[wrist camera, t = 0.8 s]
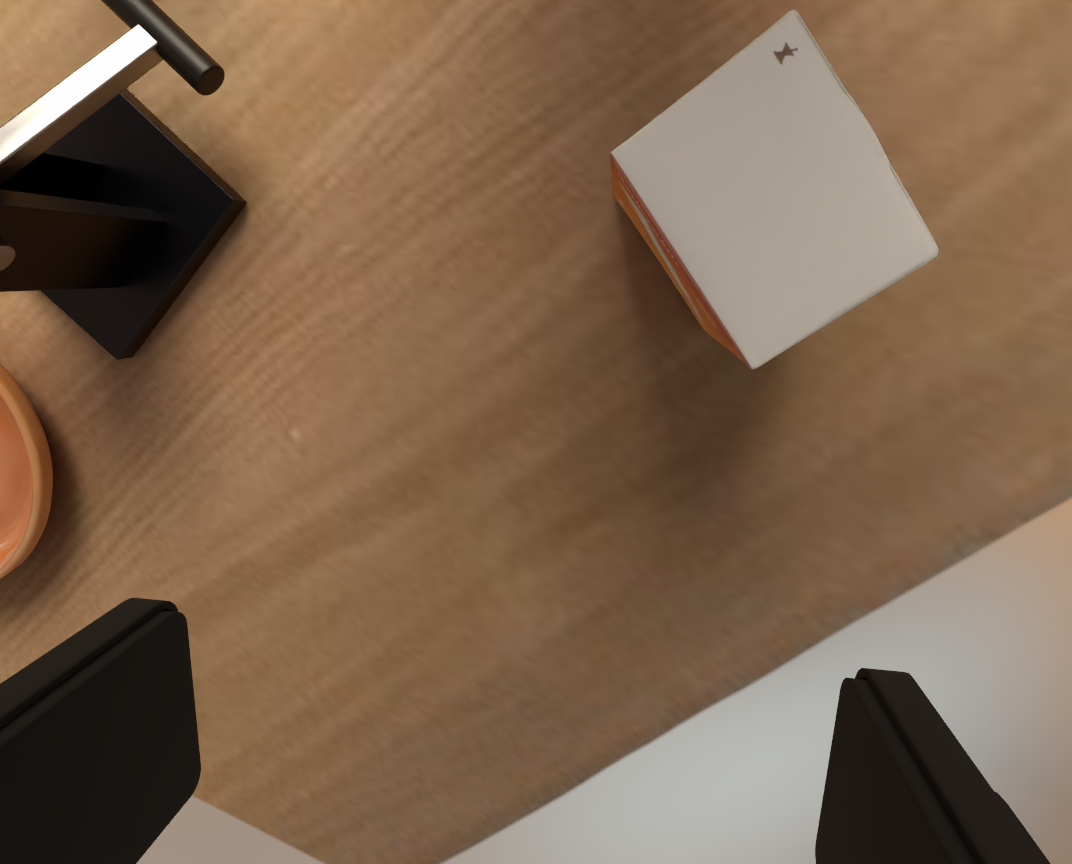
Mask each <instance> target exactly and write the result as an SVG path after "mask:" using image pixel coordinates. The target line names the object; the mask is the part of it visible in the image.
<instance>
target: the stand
mask: <svg viewBox="0 0 1072 864" xmlns="http://www.w3.org/2000/svg"><path fill="white" fill-rule="evenodd" d="M246 203H247V202H246V201H245V200H244V199H243V198H242V197H241V196H240V195H239V194H238V193H237V192H236V191H234V190H233V189H232V188H231V187H230V186H229V185H228V184H227V183H226V182H225V181H224V180H223V179H222V178H221V177H220V176H219V175H217V174H216V173H215V172H214V171H213V170H212V169H211V168H210V167H209V166H208V165H207V164H206V163H205V162H204V161H203V160H202V159H200V158H199V157H198V156H197V155H196V154H195V153H194V152H193V151H192V150H191V149H190V148H189V147H188V146H187V145H186V144H185V143H183V142H182V141H181V140H180V139H179V138H178V137H177V136H176V135H175V134H174V133H173V132H172V131H171V130H170V129H169V128H168V127H166V126H165V125H164V124H163V123H162V122H161V121H160V120H159V119H158V118H157V117H156V116H155V115H154V114H153V113H152V112H151V111H149V110H148V109H147V108H146V107H145V106H144V105H143V104H142V103H141V102H140V101H139V100H138V99H137V98H136V97H135V96H134V95H132V94H131V93H130V92H129V91H128V90H127V89H125V90H123V91H122V92H121V93H119V94H118V95H117V96H116V97H114V98H113V99H112V100H110V101H109V102H108V103H106V104H105V105H104V106H103V107H101V108H100V109H99V110H97V111H96V112H95V113H94V114H92V115H91V116H90V117H88V118H87V119H86V120H84V121H83V122H82V123H81V124H79V125H78V126H77V127H75V128H74V129H73V130H72V131H70V132H69V133H68V134H66V135H65V136H64V137H62V138H61V139H60V140H59V141H57V142H56V143H55V144H53V145H52V146H51V147H49V148H48V149H47V150H46V151H44V152H43V153H42V154H40V155H39V156H38V157H37V158H35V159H34V160H33V161H31V162H30V163H29V164H27V165H26V166H25V167H24V168H22V169H21V170H20V171H18V172H17V173H16V174H14V175H13V176H12V177H11V178H9V179H8V180H7V181H5V182H4V183H3V184H2V185H0V292H5V291H34V290H41V291H42V292H43V293H44V294H45V295H46V296H47V297H48V298H49V299H50V300H52V301H53V302H54V303H55V304H56V305H57V306H58V307H59V308H60V309H62V310H63V311H64V312H65V313H66V314H67V315H68V316H69V317H70V318H72V319H73V320H74V321H75V322H76V323H77V324H78V325H79V326H80V327H81V328H83V329H84V330H85V331H86V332H87V333H88V334H89V335H90V336H91V337H93V338H94V339H95V340H96V341H97V342H98V343H99V344H100V345H101V346H103V347H104V348H105V349H106V350H107V351H108V352H109V353H110V354H111V355H113V356H114V357H115V358H116V359H117V360H120V359H126V358H131V357H133V356H134V355H135V353H136V352H137V351H138V349H139V348H140V347H141V345H142V344H143V342H144V341H145V340H146V338H147V337H148V336H149V334H150V333H151V332H152V330H153V329H154V328H155V326H156V325H157V324H158V322H159V321H160V319H161V318H162V317H163V315H164V314H165V313H166V311H167V310H168V309H169V307H170V306H171V305H172V303H173V302H174V301H175V299H176V298H177V296H178V295H179V294H180V292H181V291H182V290H183V288H184V287H185V286H186V284H187V283H188V282H189V280H190V279H191V278H192V276H193V275H194V273H195V272H196V271H197V269H198V268H199V267H200V265H201V264H202V263H203V261H204V260H205V259H206V257H207V256H208V255H209V253H210V252H211V250H212V249H213V248H214V246H215V245H216V244H217V242H218V241H219V240H220V238H221V237H222V236H223V234H224V233H225V232H226V230H227V229H228V227H229V226H230V225H231V223H232V222H233V221H234V219H235V218H236V217H237V215H238V214H239V213H240V211H241V210H242V209H243V207H244V206H245V204H246Z"/></svg>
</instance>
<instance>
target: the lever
mask: <svg viewBox="0 0 1072 864" xmlns="http://www.w3.org/2000/svg"><path fill="white" fill-rule="evenodd" d="M101 1H102V2H103V3H105V4H106V5H107V6H108V7H109V8H110V9H111V10H112V11H113V12H114V13H115V14H116V15H117V16H118V17H119V18H120V19H121V20H122V21H123V22H124V23H126V24H127V25H128V26H129V27H130V28H131V30H129V31H128V32H127V33H125V34H124V35H123V36H121V37H120V38H119V39H117V40H116V41H115V42H113V43H112V44H111V45H109V46H108V47H107V48H105V49H104V50H103V51H101V52H100V53H99V54H97V55H96V56H95V57H93V58H92V59H91V60H89V61H88V62H87V63H85V64H84V65H83V66H81V67H80V68H79V69H77V70H76V71H75V72H73V73H72V74H71V75H69V76H68V77H67V78H65V79H64V80H63V81H61V82H60V83H59V84H57V85H56V86H55V87H53V88H52V89H51V90H49V91H48V92H47V93H45V94H44V95H43V96H41V97H40V98H39V99H37V100H36V101H35V102H33V103H32V104H31V105H29V106H28V107H27V108H25V109H24V110H23V111H21V112H20V113H19V114H17V115H16V116H15V117H13V118H12V119H11V120H9V121H8V122H7V123H5V124H4V125H3V126H1V127H0V185H2V184H3V183H4V182H5V181H7V180H8V179H9V178H11V177H12V176H13V175H14V174H16V173H17V172H18V171H20V170H21V169H22V168H24V167H25V166H26V165H27V164H29V163H30V162H31V161H33V160H34V159H35V158H37V157H38V156H39V155H40V154H42V153H43V152H44V151H46V150H47V149H48V148H49V147H51V146H52V145H53V144H55V143H56V142H57V141H59V140H60V139H61V138H62V137H64V136H65V135H66V134H68V133H69V132H70V131H72V130H73V129H74V128H75V127H77V126H78V125H79V124H81V123H82V122H83V121H84V120H86V119H87V118H88V117H90V116H91V115H92V114H94V113H95V112H96V111H97V110H99V109H100V108H101V107H103V106H104V105H105V104H106V103H108V102H109V101H110V100H112V99H113V98H114V97H116V96H117V95H118V94H119V93H121V92H122V91H123V90H125V89H126V88H127V87H129V86H130V85H131V84H132V83H134V82H135V81H136V80H138V79H139V78H140V77H141V76H143V75H144V74H145V73H147V72H148V71H149V70H151V69H152V68H153V67H154V66H156V65H157V64H158V63H160V62H161V61H162V60H164V61H166V62H167V63H168V64H169V65H170V66H171V67H172V68H173V69H174V70H175V71H176V72H177V73H178V74H179V75H180V76H181V77H182V78H183V79H184V80H186V81H187V82H188V83H189V84H190V85H191V86H192V87H193V88H194V89H195V90H196V91H197V92H198V93H199V94H201V95H210V94H212V93H214V92H215V91H216V90H217V89H218V88H219V87H220V86H221V84H222V83H223V80H224V75H225V74H224V70H223V68H222V67H221V66H220V65H219V64H218V63H217V62H216V61H214V60H213V59H212V58H211V57H210V56H209V55H208V54H207V53H206V52H205V51H204V50H203V49H202V48H201V47H200V46H199V45H198V44H197V43H196V42H195V41H194V40H193V39H191V38H190V37H189V36H188V35H187V34H186V33H185V32H184V31H183V30H182V29H181V28H180V27H179V26H178V25H177V24H176V23H175V22H174V21H173V20H172V19H171V18H170V17H169V16H167V15H166V14H165V13H164V12H163V11H162V10H161V9H160V8H159V7H158V6H157V5H156V4H155V3H154V2H153V1H152V0H101Z"/></svg>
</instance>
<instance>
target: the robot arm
mask: <svg viewBox="0 0 1072 864" xmlns="http://www.w3.org/2000/svg"><path fill="white" fill-rule="evenodd" d="M200 772H201V763H200V752H199V742H198V732H197V721H196V711H195V700H194V690H193V680H192V669H191V659H190V649H189V638H188V628H187V621H186V618H185V616H184V614H182V613H180V612H178V609H177V607H176V606H175V604H173V603H172V602H170V601H161V600H151V599H141V598H130V599H128V600H126V601H124V602H122V603H121V604H119V605H118V606H116V607H115V608H113V609H112V610H110V611H109V612H107V613H106V614H104V615H103V616H101V617H100V618H98V619H97V620H95V621H94V622H92V623H91V624H89V625H88V626H86V627H85V628H83V629H82V630H80V631H79V632H77V633H76V634H74V635H73V636H71V637H70V638H68V639H67V640H65V641H64V642H62V643H61V644H59V645H58V646H56V647H55V648H53V649H52V650H50V651H49V652H47V653H46V654H44V655H43V656H41V657H40V658H38V659H37V660H35V661H34V662H32V663H31V664H29V665H28V666H26V667H25V668H23V669H22V670H20V671H19V672H17V673H16V674H14V675H13V676H11V677H10V678H8V679H7V680H5V681H4V682H2V683H1V684H0V864H136V863H137V862H138V861H139V859H140V858H141V857H142V856H143V854H144V853H145V852H146V851H147V849H148V848H149V847H150V846H151V845H152V843H153V842H154V841H155V840H156V838H157V837H158V836H159V835H160V834H161V832H162V831H163V830H164V829H165V827H166V826H167V825H168V824H169V823H170V821H171V820H172V819H173V818H174V816H175V815H176V814H177V813H178V812H179V810H180V809H181V808H182V806H183V805H184V804H185V803H186V802H187V801H188V799H189V798H190V797H191V795H192V794H193V792H194V791H195V789H196V786H197V784H198V781H199V778H200ZM815 856H816V864H1050V863H1049V861H1048V860H1047V858H1046V857H1045V855H1044V854H1043V853H1042V851H1041V850H1040V849H1039V847H1038V846H1037V844H1036V843H1035V842H1034V840H1033V839H1032V838H1031V836H1030V835H1029V833H1028V832H1027V831H1026V829H1025V828H1024V826H1023V825H1022V824H1021V822H1020V821H1019V819H1018V818H1017V817H1016V815H1015V814H1014V812H1013V811H1012V810H1011V808H1010V807H1009V806H1008V804H1007V803H1006V802H1005V801H1004V800H1003V799H1002V798H1001V796H1000V795H999V794H998V793H996V792H994V791H993V789H992V788H991V787H990V786H989V784H988V783H987V781H986V780H985V778H984V777H983V775H982V774H981V773H980V771H979V770H978V769H977V767H976V766H975V764H974V763H973V761H972V760H971V759H970V757H969V756H968V755H967V753H966V751H965V750H964V749H963V747H962V746H961V744H960V743H959V742H958V740H957V739H956V737H955V736H954V735H953V733H952V732H951V730H950V729H949V728H948V726H947V725H946V723H945V722H944V721H943V719H942V718H941V716H940V715H939V714H938V712H937V711H936V709H935V708H934V707H933V705H932V704H931V702H930V701H929V700H928V698H927V697H926V696H925V694H924V693H923V691H922V690H921V688H920V687H919V686H918V684H917V683H916V682H915V680H914V679H913V677H912V676H911V675H910V674H909V673H906V672H897V671H886V670H877V669H866V668H861V669H860V670H859V671H858V672H857V675H856V677H855V679H853V678H845V679H844V680H843V682H842V685H841V689H840V695H839V702H838V708H837V714H836V721H835V727H834V734H833V739H832V745H831V752H830V758H829V764H828V770H827V777H826V783H825V790H824V795H823V801H822V808H821V814H820V820H819V827H818V833H817V840H816V849H815Z"/></svg>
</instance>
